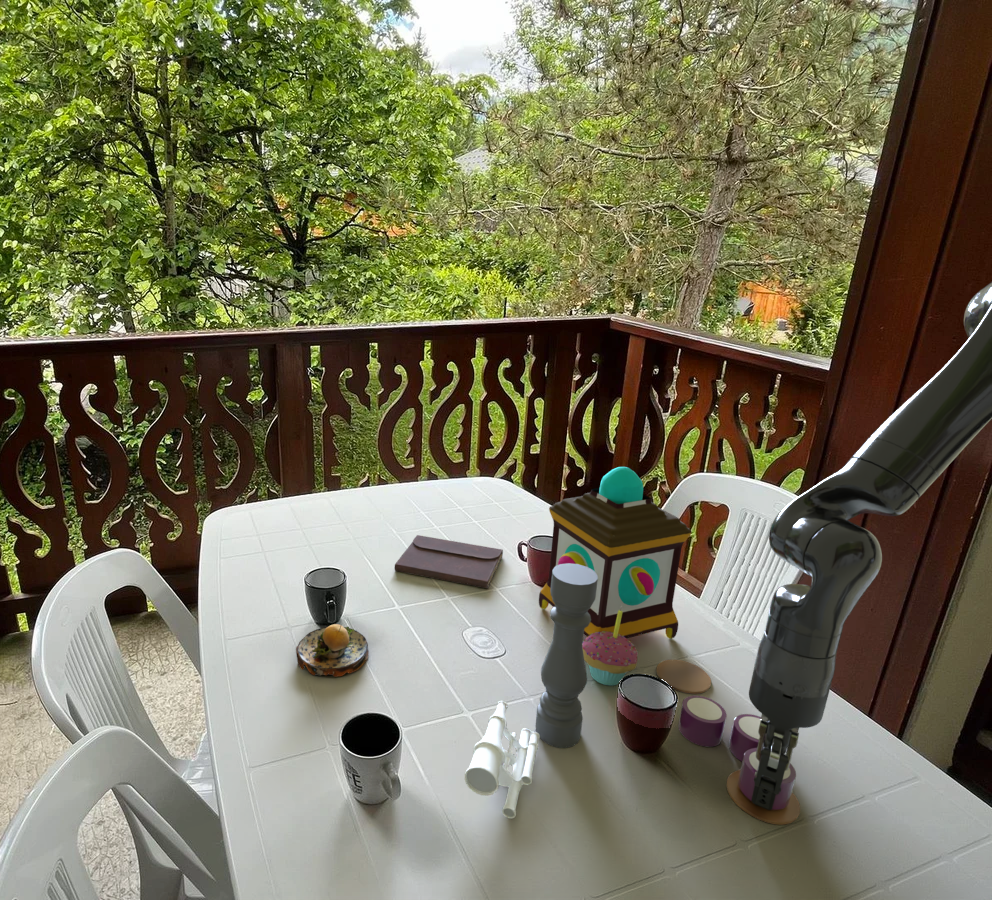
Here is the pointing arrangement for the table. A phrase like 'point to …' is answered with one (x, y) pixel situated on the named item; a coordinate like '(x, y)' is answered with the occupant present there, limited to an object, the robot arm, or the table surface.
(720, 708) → the purple cream-topped cylinder
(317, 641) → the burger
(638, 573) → the decorative lantern
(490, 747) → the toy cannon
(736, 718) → the middle dish
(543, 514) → the table surface
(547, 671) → the candle holder
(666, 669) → the far coaster
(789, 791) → the purple short cylinder
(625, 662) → the cupcake
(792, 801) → the near coaster
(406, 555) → the brown flap folio case
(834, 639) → the robot arm
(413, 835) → the table surface
